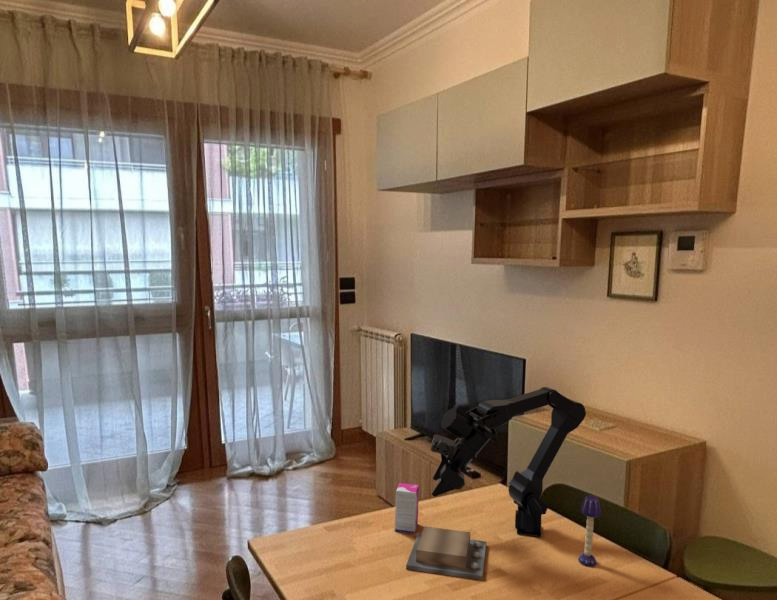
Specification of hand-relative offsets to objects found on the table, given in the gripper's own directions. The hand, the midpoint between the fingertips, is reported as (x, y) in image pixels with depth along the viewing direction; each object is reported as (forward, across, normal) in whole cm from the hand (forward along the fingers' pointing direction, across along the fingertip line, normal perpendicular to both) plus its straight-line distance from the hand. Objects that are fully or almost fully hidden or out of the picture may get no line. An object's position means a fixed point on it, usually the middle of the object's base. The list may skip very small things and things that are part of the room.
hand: (433, 487), depth 144 cm
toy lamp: (-13, +9, +39) cm, 42 cm away
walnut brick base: (+8, +11, +10) cm, 17 cm away
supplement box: (+15, -3, +3) cm, 16 cm away
